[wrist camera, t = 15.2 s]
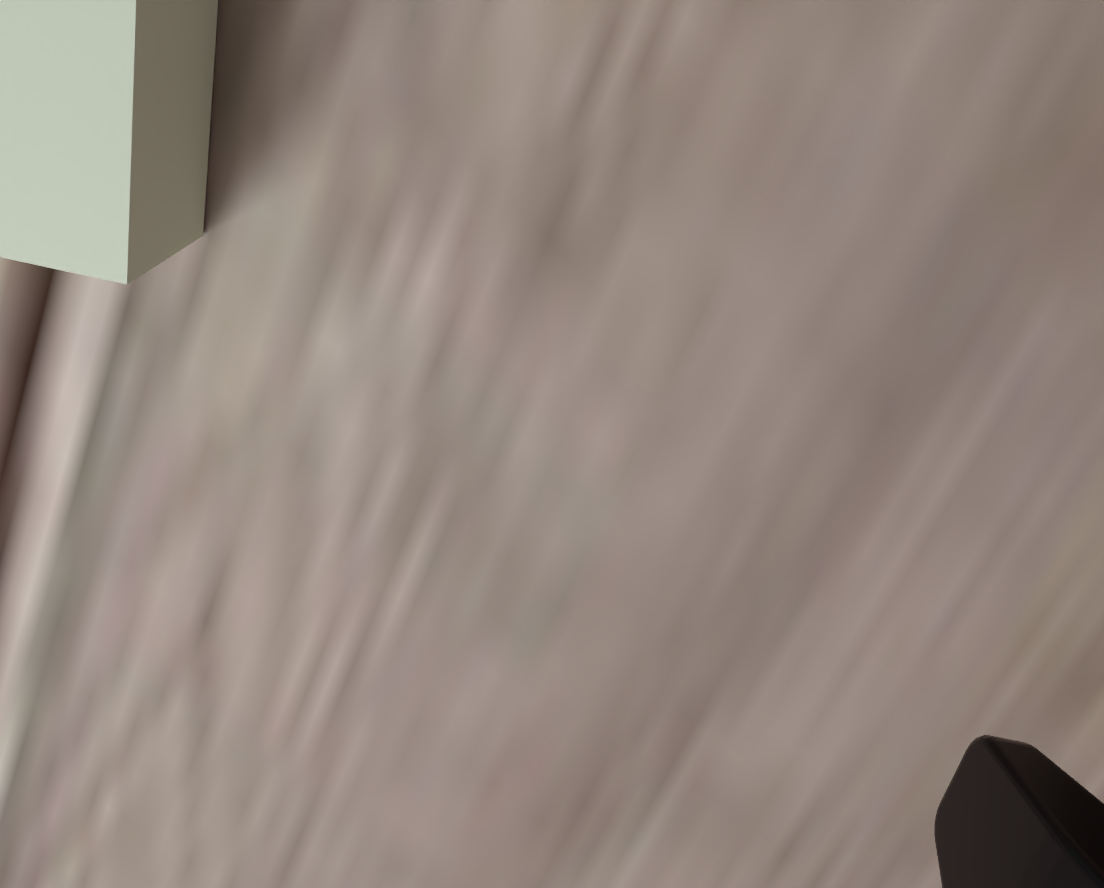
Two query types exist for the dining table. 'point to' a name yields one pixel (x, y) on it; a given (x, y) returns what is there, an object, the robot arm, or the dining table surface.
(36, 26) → the socket block
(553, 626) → the dining table surface
